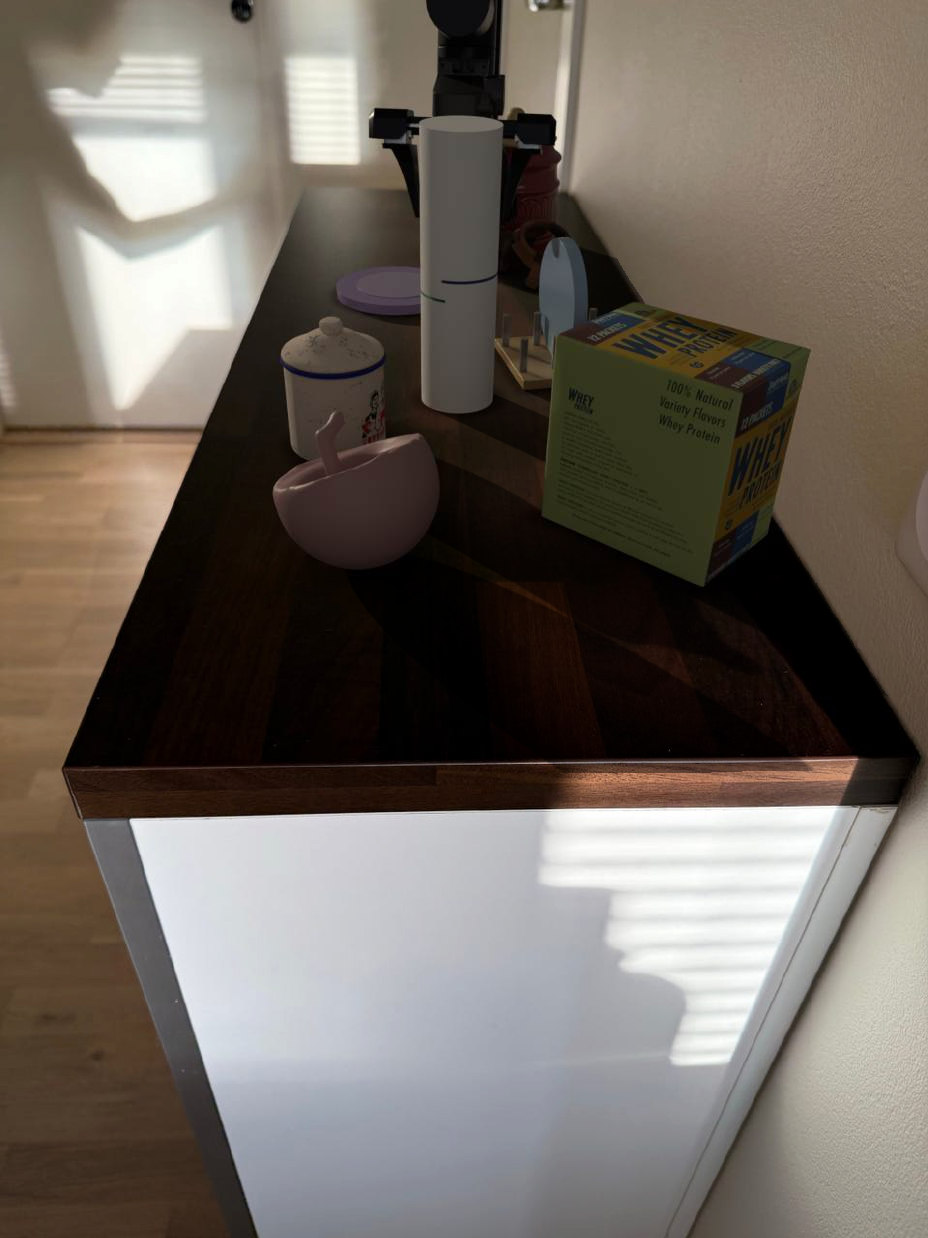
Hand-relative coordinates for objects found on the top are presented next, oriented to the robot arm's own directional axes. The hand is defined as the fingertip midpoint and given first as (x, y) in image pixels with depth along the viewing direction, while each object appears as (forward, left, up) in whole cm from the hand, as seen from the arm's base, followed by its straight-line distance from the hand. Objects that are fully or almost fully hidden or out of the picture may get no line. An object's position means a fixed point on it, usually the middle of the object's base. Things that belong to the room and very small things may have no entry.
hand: (461, 219), depth 103 cm
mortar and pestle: (+46, +1, -13) cm, 47 cm away
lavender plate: (-13, -10, -13) cm, 21 cm away
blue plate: (+5, +12, -6) cm, 14 cm away
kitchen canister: (-38, +1, -13) cm, 41 cm away
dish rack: (+5, +12, -13) cm, 18 cm away
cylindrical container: (+16, +3, -13) cm, 21 cm away
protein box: (+37, +23, -13) cm, 45 cm away
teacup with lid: (+27, -6, -13) cm, 30 cm away
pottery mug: (-23, +5, -13) cm, 27 cm away
